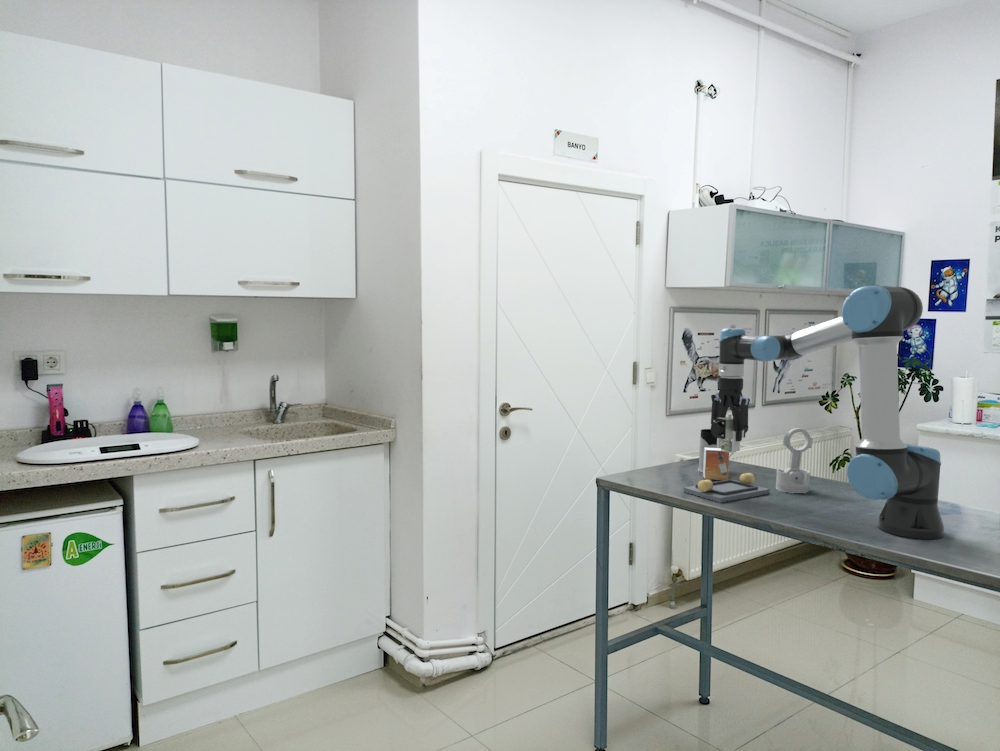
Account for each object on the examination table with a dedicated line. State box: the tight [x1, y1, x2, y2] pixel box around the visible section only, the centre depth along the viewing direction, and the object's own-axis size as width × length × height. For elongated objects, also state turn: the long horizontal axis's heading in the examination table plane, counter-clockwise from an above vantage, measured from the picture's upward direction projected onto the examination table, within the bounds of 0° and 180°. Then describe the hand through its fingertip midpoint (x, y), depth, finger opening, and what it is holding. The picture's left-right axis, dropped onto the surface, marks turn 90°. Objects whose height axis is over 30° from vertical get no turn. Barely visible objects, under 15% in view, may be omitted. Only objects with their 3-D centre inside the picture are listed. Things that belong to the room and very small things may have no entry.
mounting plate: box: [683, 472, 771, 504], centre depth 224 cm, size 23×15×5 cm, turn 121°
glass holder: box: [697, 428, 735, 473], centre depth 256 cm, size 9×14×15 cm, turn 93°
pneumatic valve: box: [710, 413, 749, 454], centre depth 223 cm, size 6×12×12 cm, turn 115°
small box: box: [702, 447, 730, 481], centre depth 245 cm, size 8×6×10 cm
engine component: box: [775, 427, 813, 494], centre depth 229 cm, size 11×20×10 cm
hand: (728, 449), depth 223 cm, fingers closed on pneumatic valve, 5 cm apart
